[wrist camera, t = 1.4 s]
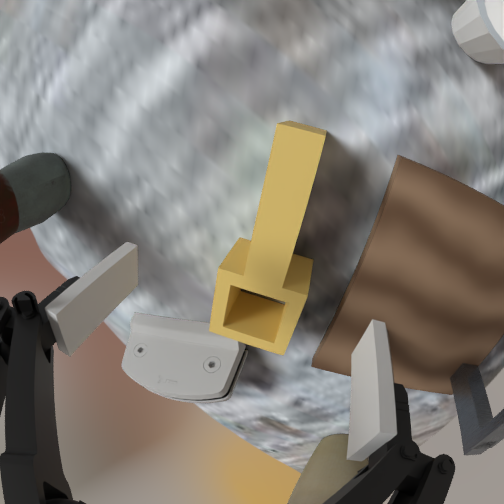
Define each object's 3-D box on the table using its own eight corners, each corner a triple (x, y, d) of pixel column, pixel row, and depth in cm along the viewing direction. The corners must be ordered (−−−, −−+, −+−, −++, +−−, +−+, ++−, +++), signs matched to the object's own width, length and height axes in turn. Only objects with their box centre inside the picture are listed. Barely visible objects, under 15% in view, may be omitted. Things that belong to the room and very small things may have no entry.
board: (397, 154, 21) (401, 157, 20) (550, 235, 19) (557, 241, 17) (312, 357, 34) (311, 366, 33) (450, 387, 31) (451, 394, 30)
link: (264, 115, 23) (245, 116, 18) (351, 138, 22) (357, 146, 17) (228, 296, 33) (208, 331, 28) (292, 316, 32) (283, 355, 27)
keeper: (492, 305, 25) (533, 394, 13) (510, 312, 24) (551, 394, 13) (444, 369, 30) (461, 455, 19) (464, 372, 30) (482, 453, 18)
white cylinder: (513, 72, 14) (555, 70, 8) (458, 69, 16) (496, 60, 10) (491, 7, 11) (526, -10, 5) (434, 0, 14) (462, -27, 8)
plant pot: (394, 443, 40) (391, 518, 27) (330, 461, 47) (318, 527, 34) (353, 413, 38) (344, 507, 24) (283, 435, 45) (262, 511, 31)
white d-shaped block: (244, 326, 34) (224, 405, 28) (252, 343, 38) (235, 415, 31) (132, 311, 39) (105, 373, 32) (147, 328, 42) (124, 386, 36)
